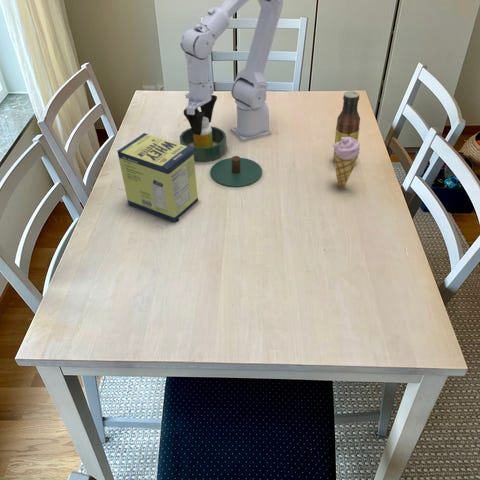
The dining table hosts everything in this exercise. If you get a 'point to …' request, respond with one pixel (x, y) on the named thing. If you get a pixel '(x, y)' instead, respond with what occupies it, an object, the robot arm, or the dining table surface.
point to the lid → (236, 172)
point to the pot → (207, 152)
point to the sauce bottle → (348, 118)
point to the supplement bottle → (204, 135)
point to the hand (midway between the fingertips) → (202, 128)
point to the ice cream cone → (345, 158)
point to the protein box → (159, 176)
